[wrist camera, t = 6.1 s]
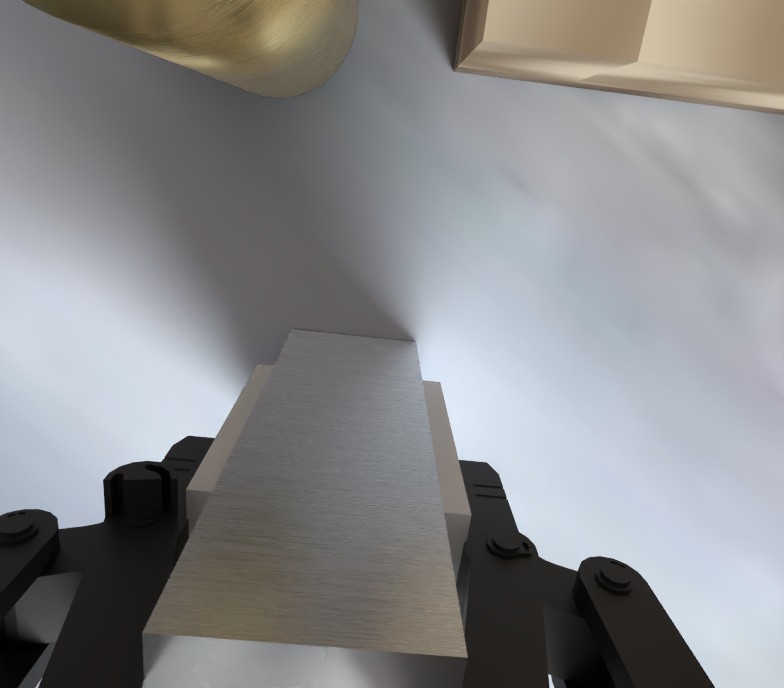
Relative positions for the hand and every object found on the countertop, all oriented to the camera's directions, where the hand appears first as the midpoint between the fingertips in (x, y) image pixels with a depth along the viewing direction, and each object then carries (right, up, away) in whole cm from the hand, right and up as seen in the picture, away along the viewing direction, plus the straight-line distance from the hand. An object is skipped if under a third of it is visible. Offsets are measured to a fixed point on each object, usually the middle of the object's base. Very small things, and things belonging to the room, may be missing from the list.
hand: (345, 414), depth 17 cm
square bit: (0, +1, +2) cm, 2 cm away
